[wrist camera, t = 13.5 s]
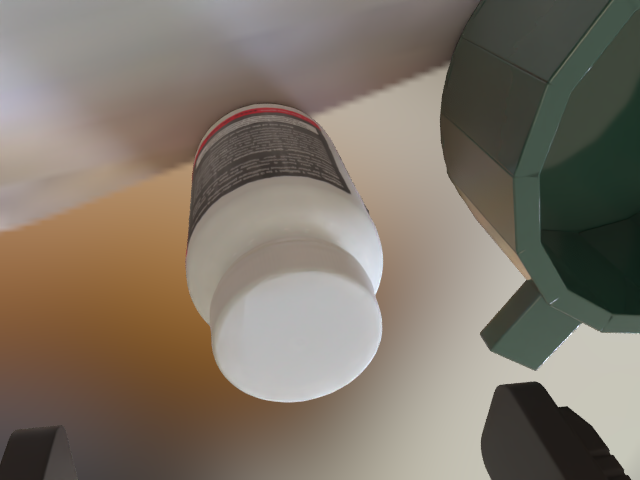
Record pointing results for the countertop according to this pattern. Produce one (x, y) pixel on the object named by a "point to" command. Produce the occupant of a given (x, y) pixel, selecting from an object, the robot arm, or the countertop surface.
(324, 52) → the countertop surface
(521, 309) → the pot
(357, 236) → the pill bottle
